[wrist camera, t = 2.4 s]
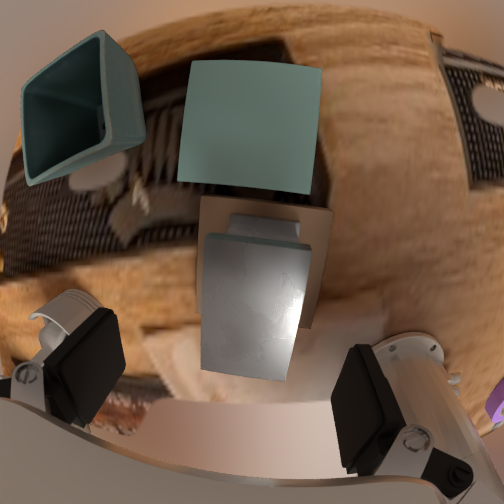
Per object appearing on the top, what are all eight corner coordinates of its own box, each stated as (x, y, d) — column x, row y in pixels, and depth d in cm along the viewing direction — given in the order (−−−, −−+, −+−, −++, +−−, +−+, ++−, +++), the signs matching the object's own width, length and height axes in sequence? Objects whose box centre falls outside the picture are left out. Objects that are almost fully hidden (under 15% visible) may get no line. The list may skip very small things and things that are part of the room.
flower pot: (171, 150, 21) (112, 143, 13) (93, 178, 22) (25, 188, 14) (157, 64, 19) (104, 26, 10) (83, 99, 20) (20, 85, 12)
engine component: (112, 297, 26) (51, 281, 27) (-21, 426, 6) (-67, 366, 7) (126, 372, 29) (69, 351, 30) (47, 495, 10) (-15, 443, 10)
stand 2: (329, 208, 21) (334, 212, 19) (308, 317, 24) (310, 328, 22) (207, 193, 22) (200, 195, 20) (201, 302, 25) (195, 312, 23)
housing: (232, 212, 20) (204, 237, 13) (299, 220, 20) (312, 251, 12) (224, 307, 23) (200, 369, 15) (283, 315, 22) (284, 381, 15)
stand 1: (318, 76, 18) (322, 68, 16) (306, 192, 21) (309, 194, 19) (198, 68, 19) (192, 60, 17) (185, 180, 22) (177, 180, 20)
